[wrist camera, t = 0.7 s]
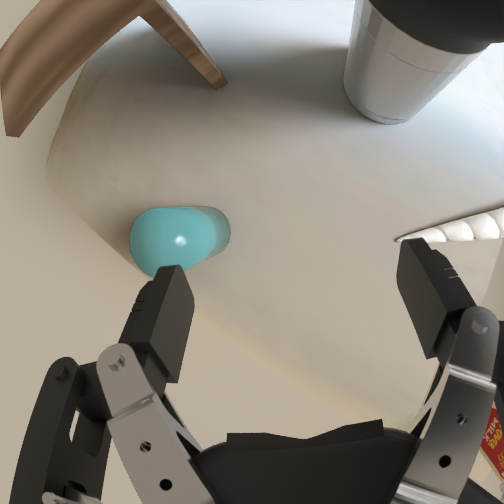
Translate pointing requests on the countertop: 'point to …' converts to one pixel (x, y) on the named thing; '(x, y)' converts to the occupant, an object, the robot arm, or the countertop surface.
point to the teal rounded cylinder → (177, 237)
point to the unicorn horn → (465, 228)
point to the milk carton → (494, 444)
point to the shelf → (79, 49)
